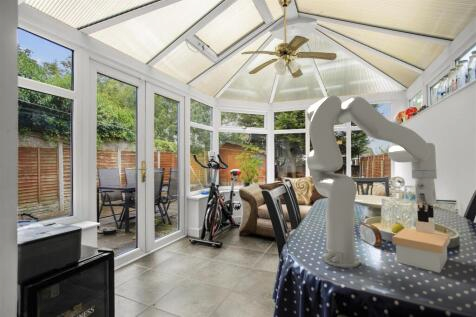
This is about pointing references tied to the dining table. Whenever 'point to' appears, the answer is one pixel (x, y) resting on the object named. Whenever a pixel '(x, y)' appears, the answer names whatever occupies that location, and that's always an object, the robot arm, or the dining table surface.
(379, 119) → the robot arm
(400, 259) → the tub
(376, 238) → the tin
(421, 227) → the lid
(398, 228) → the lemon
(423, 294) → the dining table surface
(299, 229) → the dining table surface
